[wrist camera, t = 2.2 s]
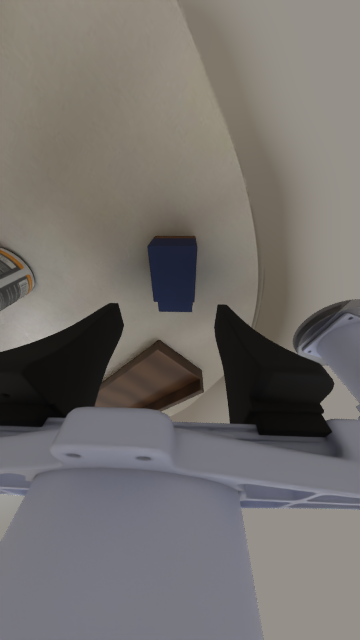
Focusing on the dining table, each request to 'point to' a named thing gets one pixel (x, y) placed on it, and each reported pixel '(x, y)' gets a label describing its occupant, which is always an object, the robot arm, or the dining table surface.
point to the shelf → (152, 381)
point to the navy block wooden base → (173, 272)
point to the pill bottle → (13, 278)
